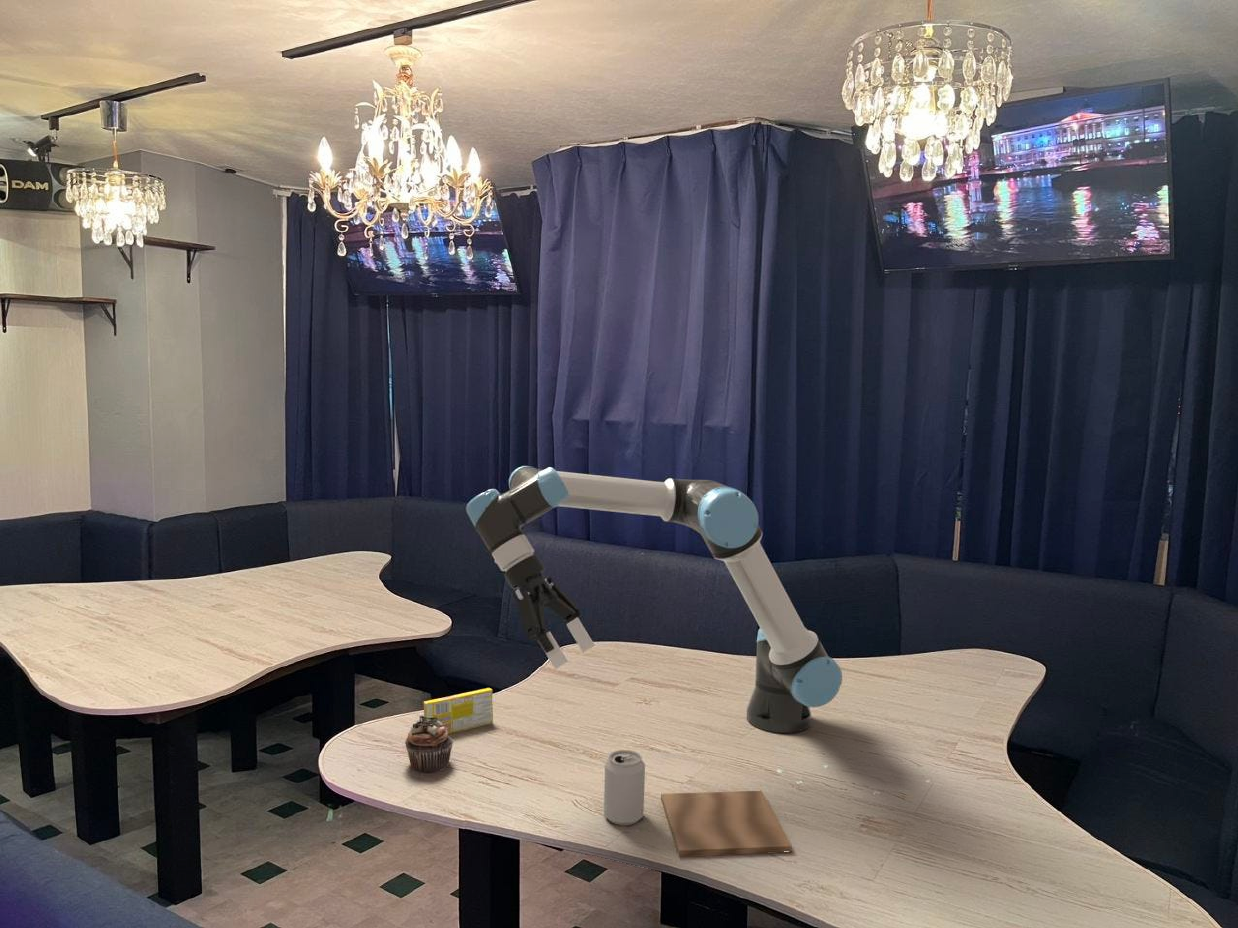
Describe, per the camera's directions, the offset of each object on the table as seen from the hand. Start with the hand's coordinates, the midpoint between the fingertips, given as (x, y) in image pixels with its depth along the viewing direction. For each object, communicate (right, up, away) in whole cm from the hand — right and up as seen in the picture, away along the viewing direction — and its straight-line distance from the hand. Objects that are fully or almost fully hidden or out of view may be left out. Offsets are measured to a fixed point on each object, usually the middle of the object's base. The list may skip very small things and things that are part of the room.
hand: (575, 657), depth 174 cm
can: (+9, -29, -5) cm, 31 cm away
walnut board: (+27, -30, -7) cm, 41 cm away
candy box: (-28, -24, +32) cm, 49 cm away
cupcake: (-31, -26, +15) cm, 43 cm away
